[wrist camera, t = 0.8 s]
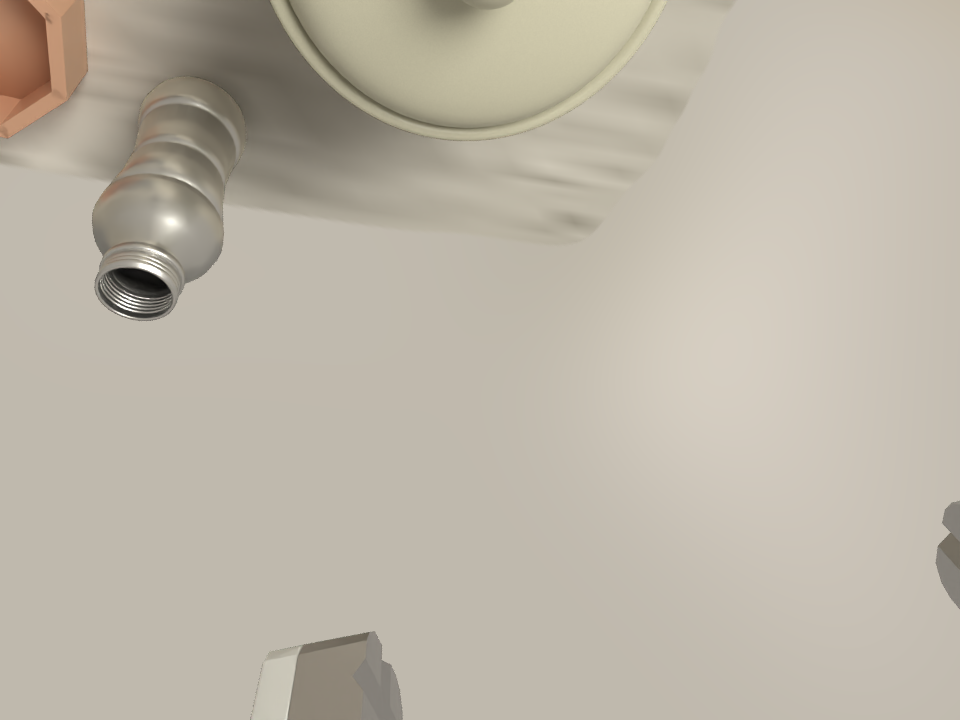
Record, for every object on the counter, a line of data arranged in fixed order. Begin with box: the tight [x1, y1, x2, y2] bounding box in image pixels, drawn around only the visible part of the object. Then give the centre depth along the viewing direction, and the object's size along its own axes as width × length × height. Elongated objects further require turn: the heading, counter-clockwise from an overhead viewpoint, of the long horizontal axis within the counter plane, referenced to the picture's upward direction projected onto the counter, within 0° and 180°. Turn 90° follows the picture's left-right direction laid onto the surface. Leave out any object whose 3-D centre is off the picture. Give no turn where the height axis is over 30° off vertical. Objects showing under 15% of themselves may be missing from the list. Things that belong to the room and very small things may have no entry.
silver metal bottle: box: [92, 76, 247, 321], centre depth 40 cm, size 6×7×20 cm
